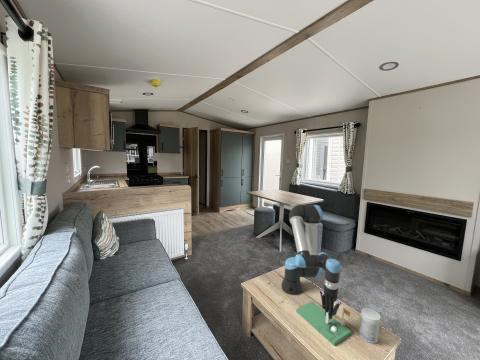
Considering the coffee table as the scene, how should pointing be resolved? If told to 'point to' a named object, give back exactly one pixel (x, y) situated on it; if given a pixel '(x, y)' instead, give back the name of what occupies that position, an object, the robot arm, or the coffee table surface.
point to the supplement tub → (370, 325)
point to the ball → (333, 329)
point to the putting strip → (318, 318)
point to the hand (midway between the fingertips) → (327, 322)
